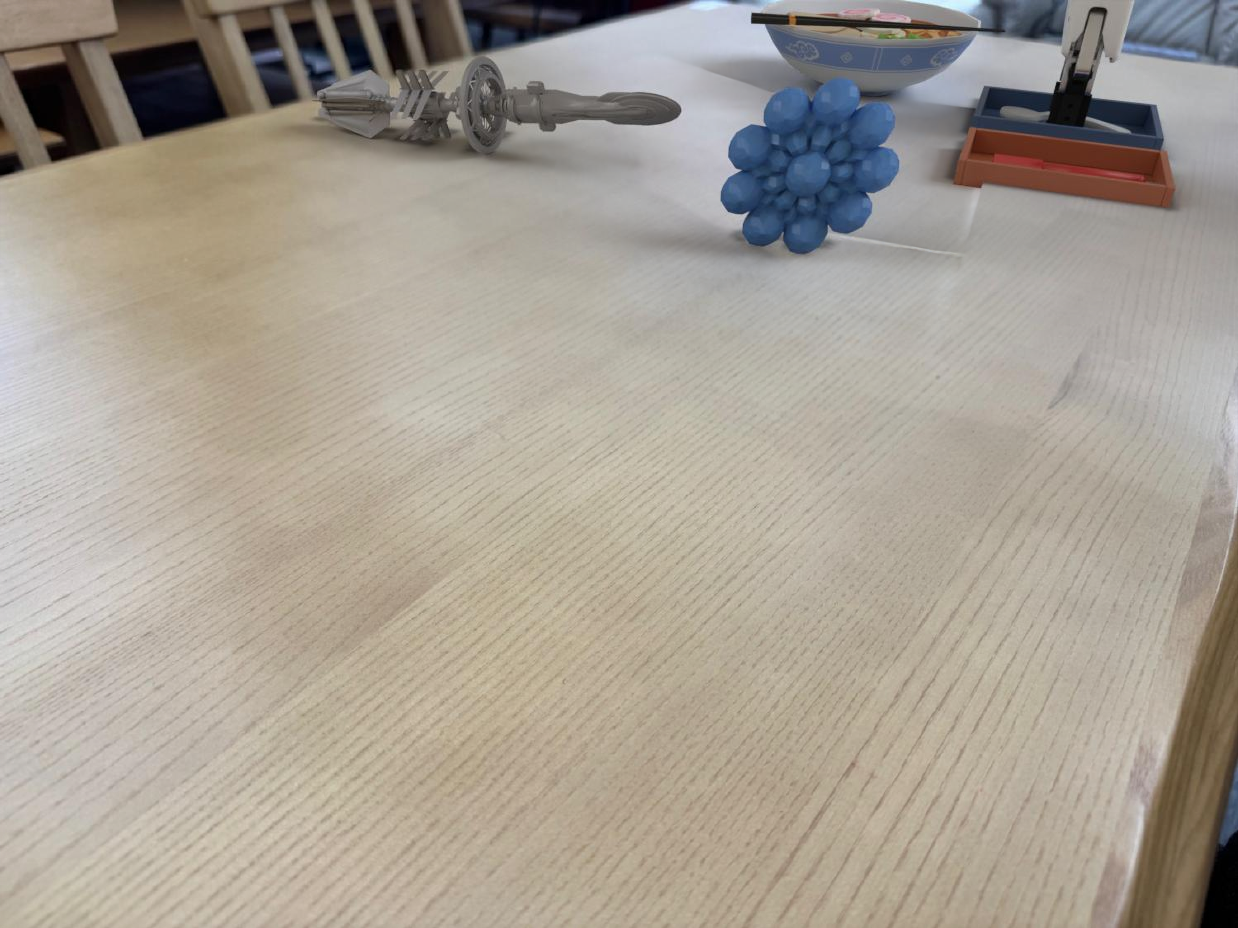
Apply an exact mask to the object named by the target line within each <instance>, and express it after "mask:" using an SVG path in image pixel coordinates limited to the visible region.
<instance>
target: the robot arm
mask: <svg viewBox="0 0 1238 928" xmlns="http://www.w3.org/2000/svg"><path fill="white" fill-rule="evenodd" d="M1135 1H1136V0H1067V5H1066V11H1065V16H1064V23H1063V30H1062V38H1061V49H1060V51H1061V52H1060V53H1061V55H1062V56H1063V57H1064V60H1063V64H1062V68H1061V72H1060V75H1059V81H1057V80H1056V81H1055V85H1054V88H1053V92H1052V93H1053V96H1052V100H1051V104H1050V108H1049V112H1050V113H1049V117H1048V120H1046V123H1049V124H1058V125H1066V126H1074V127H1084V123H1085V120H1086V116H1087V113H1088V109H1089V106H1090V102H1091V99H1092V98H1093V94H1092V90H1093V87H1094V83H1095V81H1096V76H1097V72H1098V69H1099V66H1100V63H1101V58H1102V54H1103V51H1104V57H1105V58H1108V60H1109V63H1110V64H1114V63H1116V62H1117V61H1118V60H1119V59H1120V56H1121V53H1122V50H1123V46H1124V41H1125V37H1126V34H1127V30H1128V26H1129V23H1130V19H1131V16H1132V13H1133V8H1134V4H1135Z"/></svg>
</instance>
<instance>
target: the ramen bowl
mask: <svg viewBox="0 0 1238 928" xmlns="http://www.w3.org/2000/svg"><path fill="white" fill-rule="evenodd" d="M750 24H751V25H764V26H765V29H766V31H767V33H768V35H769V37H770V40H771V41H772V43H773V45H774V47H775V48H776V50H777V51H778V52H779V54H780V56H781V57H782V58H783V59H784V60H785V61H786V62H787V63H788V64H789V65H790V66H792V67H793V68H794V69H795V70H796V71H797V72H798V73H799V74H802V75H804V76H805V77H808V78H810V79H811V80H813V81H816V82H819V83H820V84H822V85H824V84H825V83H827V82H829V81H831V80H833V79H835V78H844V79H849V80H853V82H854V83H855V84H856V86H857V87H858V90H859V92H860V96H868V97H881V96H887V95H889V94H892V93H894V92H895V91H897V90H901V89H905V88H908V87H911V86H914V85H918V84H920V83H923V82H925V81H927V80H930V79H932V78H934V77H936V76H938V75H939V74H941V73H943V72H944V71H946V70H947V69H948V68H949V67H950V66H951V65H952V64H954V63H955V62H956V61H957V60H958V59H959V57H960V56H961V55H963V53H964V52H965V51H966V50H967V49H968V47H969V46H970V45H971V44H972V42H973V41H974V40H975V38H976V37H977V36H978V34H979V32H984V33H985V32H986V33H1006V30H1005V29H1003V28H990V27H989V28H987V27H982V25H981V24H982V21H981V20H980V19H978V18H976V17H974V16H972V15H970V14H968V13H966V12H963V11H960V10H956V9H952V8H948V7H945V6H941V5H937V4H932V3H931V4H930V3H925V2H918V1H917V2H916V1H911V0H780V1H776V2H771V3H768V4H766V6H765V7H763V8H762V9H761V10H760V12H752V11H751V14H750Z"/></svg>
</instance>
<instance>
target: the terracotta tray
mask: <svg viewBox="0 0 1238 928" xmlns="http://www.w3.org/2000/svg"><path fill="white" fill-rule="evenodd" d="M994 154H1002V155H1010V156H1017V157H1025V158H1033V159H1041V160H1043V162H1046V163H1054V164H1062V165H1069V166H1077V167H1085V168H1092V169H1100V170H1108V171H1115V172H1123V173H1131V174H1138V175H1142V176H1144V177H1145V180H1146V183H1145V182H1138V181H1130V180H1123V179H1115V178H1108V177H1100V176H1093V175H1085V174H1077V173H1070V172H1062V171H1055V170H1047V169H1040V168H1032V167H1025V166H1017V165H1009V164H1002V163H994V162H993V158H994ZM984 183H986V184H987V183H988V184H995V185H1002V186H1009V187H1018V188H1024V189H1031V190H1039V191H1044V192H1045V191H1046V192H1052V193H1060V194H1068V195H1075V196H1082V197H1089V198H1096V199H1104V200H1109V201H1118V202H1124V203H1132V204H1133V203H1134V204H1138V205H1145V206H1154V207H1161V208H1170V205H1171V202H1172V200H1173V197H1174V194H1175V191H1176V186H1175V182H1174V178H1173V174H1172V169H1171V164H1170V159H1169V155H1168V151H1166V150H1160V151H1159V150H1152V149H1144V148H1136V147H1128V146H1120V145H1112V144H1104V143H1095V142H1087V141H1079V140H1071V139H1063V138H1055V137H1047V136H1039V135H1031V134H1023V133H1015V132H1006V131H998V130H990V129H982V128H974V127H971V126H970V127H969V128H968V131H967V135H966V137H965V140H964V143H963V146H962V149H961V152H960V155H959V158H958V161H957V165H956V170H955V174H954V179H953V183H952V184H953V185H955V186H961V187H969V188H970V187H971V188H976V189H982V188H983V184H984Z"/></svg>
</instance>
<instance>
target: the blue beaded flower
mask: <svg viewBox="0 0 1238 928" xmlns="http://www.w3.org/2000/svg"><path fill="white" fill-rule="evenodd" d="M860 98H861V95H860V92H859V90H858V87H857V86H856V84H855V83H854V82H853V80H849V79H844V78H835V79H833V80H831V81H829V82H827V83H825V84H824V85H823V84H822V85H820V86H819V87H818V89H817V91H816V92H815V94H814V95H813V97H812V100H811V99H810V96H809V95H808V94H807V91H805V89H802V88H796V87H790V86H787V87H785V88H783V89H782V90H779V91H778V92H776V93H774V94H772V95H771V97H770V98H769V100H768V102H767V103H766V105H765V108H764V110H763V119H762V122H763V123H764V125H765V126H764V125H759V124H753V123H751V124H749V125H747V126H745V127H744V128H742V129H740V130H738V131H736V132H735V134H734V135H733V136H732V138H731V140H730V142H729V144H728V149H727V151H728V152H727V157H728V159H729V161H730V162H731V164H732V165H733V167H734V169H736V170H739V171H737V172H736V173H734V174H732V175H729V176H728V177H727V179H726V180H725V182H724V184H722V187H721V190H720V203H721V204H722V205H723V207H724V209H725V210H726V211H727V213H730V214H733V215H740V216H741V215H742V216H743V215H745V214H746V216H745V218H744V219H743V221H742V227H741V228H742V229H741V230H742V231H741V233H742V235H743V237H744V238H745V240H746V241H747V243H748V244H749V245H752V246H755V247H761V248H762V247H763V248H764V247H766V246H769V245H772V244H773V243H775V242H777V241H778V240H780V238H781V236H782V242H783V243H784V246H786V248H787V250H788V251H789V252H790V253H793V254H796V255H806V254H809V253H812V252H814V251H815V250H818V249H819V248H820V247H821V245H822V244H823V242H824V241H825V240H826V237H827V235H828V234H829V233H828V232H829V228H830V230H831V231H832V232H834V233H837V234H842V235H843V234H844V235H849V234H852V233H853V232H856V231H857V230H859V229H861V228H863V227H864V226H865V224H866V222H867V221H868V219H869V218H870V217H871V215H872V213H873V201H872V200H871V198H870V196H869V195H868V194H875V193H878V192H880V191H882V190H884V189H886V188H888V187H890V186H891V184H892V183H893V181H894V179H895V178H896V176H897V175H898V173H899V172H900V159H899V156H898V155H897V153H896V152H895V151H894V149H893V148H890V147H884V146H882V145H883V144H885V143H886V141H887V140H888V138H889V137H890V135H891V134H892V132H893V130H894V129H895V128H896V116H895V113H894V109H892V107H891V106H890V105H889V103H884V102H878V101H870V102H868V103H866V104H865V105H863V106H861V107H859V105H860V100H861V99H860Z"/></svg>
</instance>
